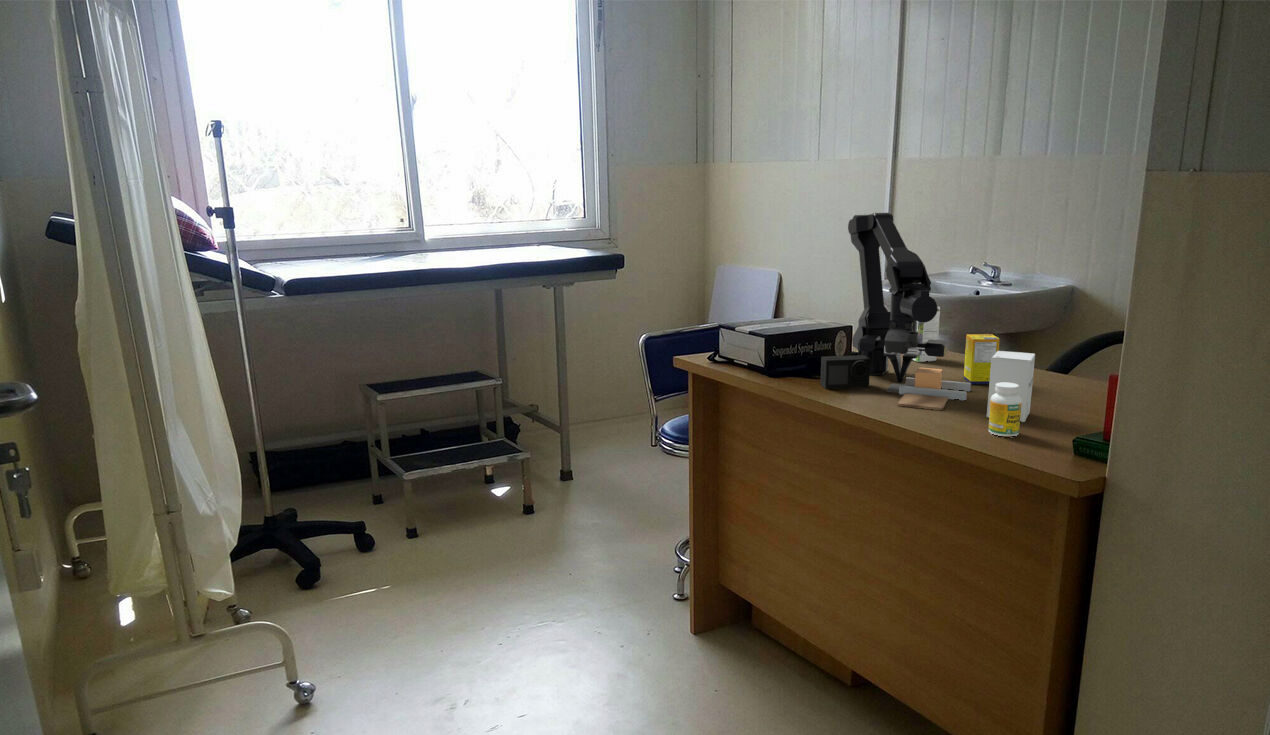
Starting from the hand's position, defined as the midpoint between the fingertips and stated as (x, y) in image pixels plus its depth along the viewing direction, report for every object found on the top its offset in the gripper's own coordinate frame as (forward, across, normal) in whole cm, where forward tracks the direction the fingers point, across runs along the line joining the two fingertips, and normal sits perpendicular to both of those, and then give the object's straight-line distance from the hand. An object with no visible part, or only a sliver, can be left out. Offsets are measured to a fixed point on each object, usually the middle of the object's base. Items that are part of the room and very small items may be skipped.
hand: (900, 382), depth 188 cm
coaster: (+2, +7, -10) cm, 12 cm away
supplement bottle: (+2, +24, -26) cm, 35 cm away
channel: (+2, +8, 0) cm, 8 cm away
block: (+2, +6, 0) cm, 6 cm away
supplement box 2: (+2, +24, -13) cm, 27 cm away
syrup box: (+2, -1, +33) cm, 33 cm away
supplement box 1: (+2, +16, +14) cm, 21 cm away
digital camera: (+2, -12, -3) cm, 12 cm away
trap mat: (+2, 0, 0) cm, 2 cm away
